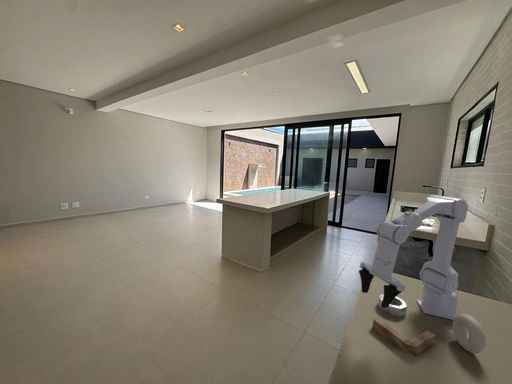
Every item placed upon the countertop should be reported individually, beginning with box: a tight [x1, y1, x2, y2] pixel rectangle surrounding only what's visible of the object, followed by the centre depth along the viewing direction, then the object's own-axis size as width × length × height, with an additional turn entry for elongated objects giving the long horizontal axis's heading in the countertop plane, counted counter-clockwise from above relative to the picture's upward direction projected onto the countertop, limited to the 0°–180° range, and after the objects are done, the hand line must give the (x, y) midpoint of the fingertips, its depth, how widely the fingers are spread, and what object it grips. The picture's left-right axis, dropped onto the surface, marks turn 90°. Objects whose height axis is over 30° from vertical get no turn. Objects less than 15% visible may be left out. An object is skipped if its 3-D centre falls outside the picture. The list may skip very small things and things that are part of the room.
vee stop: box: [372, 317, 436, 357], centre depth 65 cm, size 17×9×3 cm, turn 70°
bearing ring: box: [377, 293, 408, 319], centre depth 80 cm, size 8×8×4 cm
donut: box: [452, 313, 487, 354], centre depth 64 cm, size 10×4×10 cm, turn 168°
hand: (374, 299), depth 69 cm, fingers open, 7 cm apart
